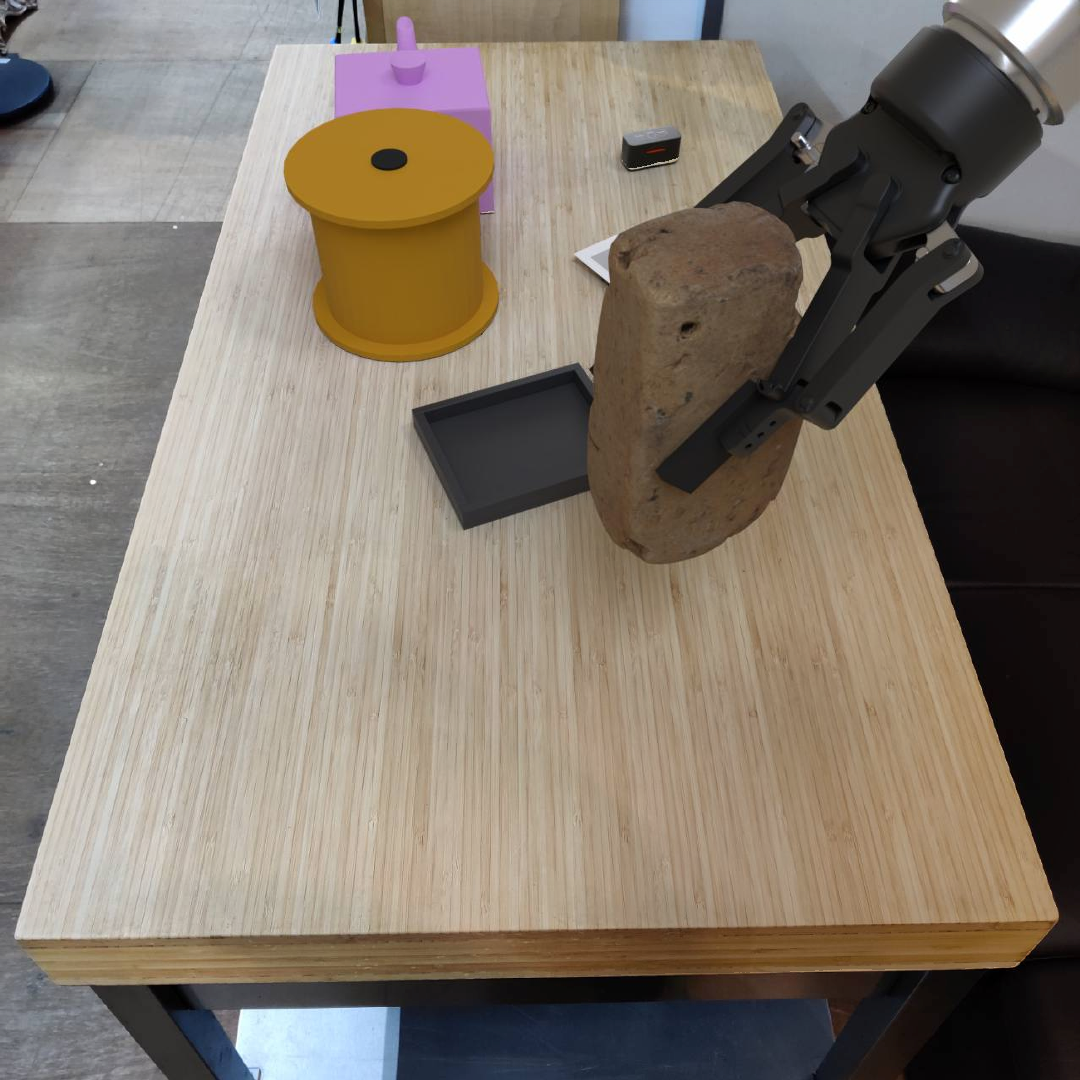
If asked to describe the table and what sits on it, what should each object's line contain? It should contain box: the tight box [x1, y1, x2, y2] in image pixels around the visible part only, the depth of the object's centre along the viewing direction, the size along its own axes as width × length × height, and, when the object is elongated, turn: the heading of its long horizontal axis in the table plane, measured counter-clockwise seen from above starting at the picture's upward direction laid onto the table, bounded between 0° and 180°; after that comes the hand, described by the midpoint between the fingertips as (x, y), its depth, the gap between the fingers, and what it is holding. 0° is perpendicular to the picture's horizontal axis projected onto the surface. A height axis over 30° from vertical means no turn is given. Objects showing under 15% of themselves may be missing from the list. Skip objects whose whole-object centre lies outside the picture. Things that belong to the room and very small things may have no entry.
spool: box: [282, 108, 500, 363], centre depth 90 cm, size 18×18×15 cm
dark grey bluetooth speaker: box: [620, 125, 682, 168], centre depth 111 cm, size 5×7×3 cm, turn 109°
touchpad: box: [573, 230, 625, 284], centre depth 97 cm, size 8×15×2 cm, turn 36°
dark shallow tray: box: [411, 362, 594, 531], centre depth 83 cm, size 13×16×2 cm
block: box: [587, 201, 805, 565], centre depth 53 cm, size 11×8×20 cm
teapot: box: [333, 15, 495, 213], centre depth 104 cm, size 15×25×14 cm, turn 7°
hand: (638, 429), depth 53 cm, fingers closed on block, 7 cm apart
